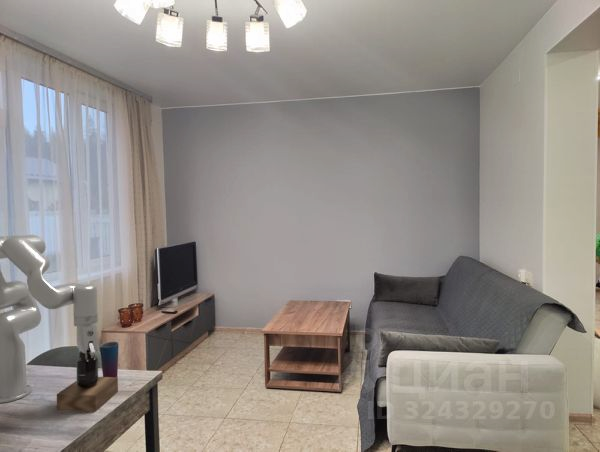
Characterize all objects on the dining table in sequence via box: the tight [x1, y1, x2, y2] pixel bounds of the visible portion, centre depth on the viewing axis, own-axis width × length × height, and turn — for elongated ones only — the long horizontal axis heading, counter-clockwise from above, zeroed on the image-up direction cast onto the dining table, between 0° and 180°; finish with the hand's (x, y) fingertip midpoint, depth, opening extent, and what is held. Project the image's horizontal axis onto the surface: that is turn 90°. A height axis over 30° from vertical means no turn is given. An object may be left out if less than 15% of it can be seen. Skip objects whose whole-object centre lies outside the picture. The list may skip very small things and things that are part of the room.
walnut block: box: [56, 376, 119, 412], centre depth 139 cm, size 14×14×6 cm
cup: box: [99, 341, 120, 377], centre depth 155 cm, size 7×7×15 cm
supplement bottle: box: [76, 350, 99, 387], centre depth 139 cm, size 7×7×12 cm
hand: (87, 367), depth 139 cm, fingers closed on supplement bottle, 6 cm apart
